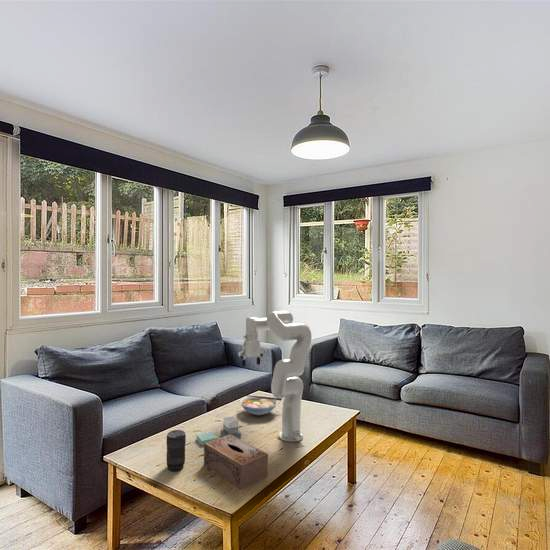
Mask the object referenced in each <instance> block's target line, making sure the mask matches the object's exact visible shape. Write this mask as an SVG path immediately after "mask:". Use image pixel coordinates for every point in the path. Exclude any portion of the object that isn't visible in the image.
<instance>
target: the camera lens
mask: <svg viewBox="0 0 550 550" xmlns="http://www.w3.org/2000/svg"><path fill="white" fill-rule="evenodd" d="M186 438H187V435H186V431H184V430H183V429H182V430H181V429H175V430H171V431H168V433H167V435H166V465H167V469H168V471H171V472H178V471H181V470H183V468H184V465H185V463H186V441H187V440H186Z"/></svg>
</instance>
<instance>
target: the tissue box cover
mask: <svg viewBox="0 0 550 550" xmlns="http://www.w3.org/2000/svg"><path fill="white" fill-rule="evenodd" d="M203 447H204V449H203V450H204V451H203V466H205V468H208V469H209V470H211V471H213V472H214V473H215V474H217V475H218V476H219V477H221V478H223V479H224V480H226V481H227V482H228V483H230V484H231V485H233V486H235V487H237V488H238V489H239V490H244V489H246V488H247V487H250V486H251V485H253V484H256V483H258V482H260V481H261V480H263V479H266V478H267V477H268V472H269V471H268V469H269V467H268V465H269V453H267V452H265V451H263V450H262V449H259V448H257V447H255V446H253V445H252V444H250V443H248V442H246V441H244V440H242V439H241V438H237V437H235V436H233V435H231V434H229V435H227V436H224V437H222V436H221V437H219V438H218V437H217V439H215V440H212V441H210V442H207V443H204V446H203Z"/></svg>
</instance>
